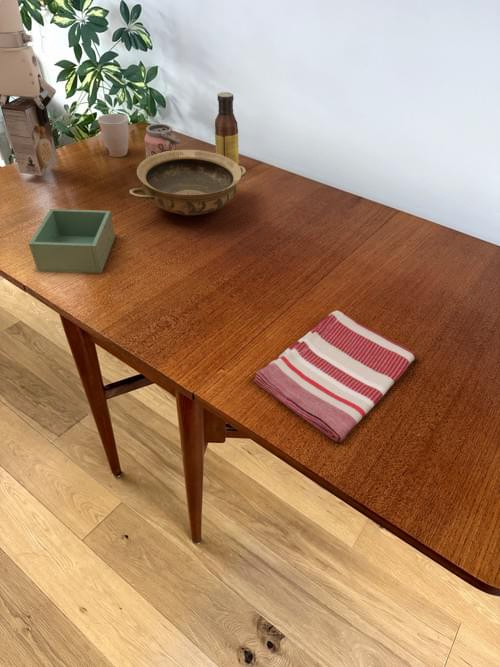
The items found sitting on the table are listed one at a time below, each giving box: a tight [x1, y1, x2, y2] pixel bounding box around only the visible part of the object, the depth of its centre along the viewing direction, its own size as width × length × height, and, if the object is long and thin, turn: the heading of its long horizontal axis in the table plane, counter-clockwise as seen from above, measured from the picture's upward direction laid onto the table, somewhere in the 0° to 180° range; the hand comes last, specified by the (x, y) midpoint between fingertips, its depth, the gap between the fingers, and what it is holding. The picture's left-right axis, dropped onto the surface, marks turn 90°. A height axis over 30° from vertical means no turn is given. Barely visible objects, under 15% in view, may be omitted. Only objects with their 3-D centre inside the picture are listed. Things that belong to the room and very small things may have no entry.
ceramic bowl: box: [128, 149, 247, 217], centre depth 110 cm, size 30×24×10 cm
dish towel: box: [253, 309, 417, 443], centre depth 75 cm, size 17×23×3 cm
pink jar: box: [143, 123, 181, 159], centre depth 124 cm, size 9×8×12 cm
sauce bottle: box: [214, 91, 240, 165], centre depth 124 cm, size 6×6×20 cm
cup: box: [97, 113, 130, 158], centre depth 132 cm, size 8×8×10 cm
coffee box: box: [0, 97, 60, 177], centre depth 116 cm, size 9×6×16 cm
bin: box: [28, 208, 116, 274], centre depth 95 cm, size 13×14×7 cm
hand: (28, 123), depth 113 cm, fingers closed on coffee box, 7 cm apart
